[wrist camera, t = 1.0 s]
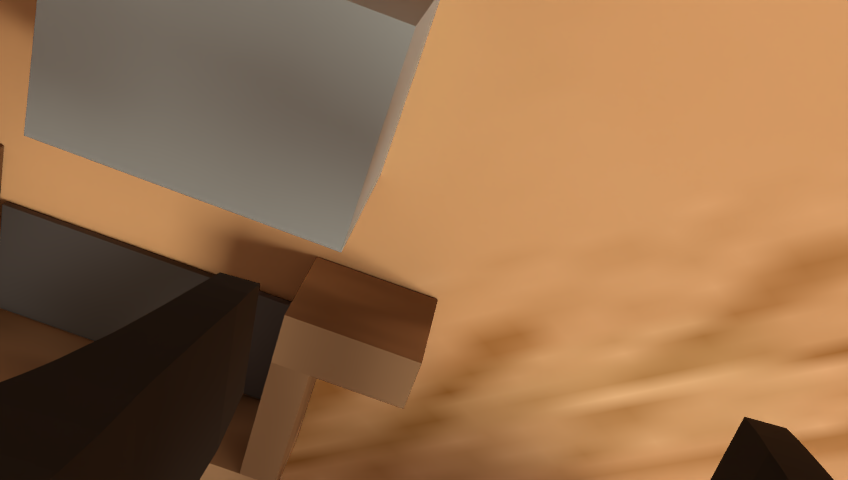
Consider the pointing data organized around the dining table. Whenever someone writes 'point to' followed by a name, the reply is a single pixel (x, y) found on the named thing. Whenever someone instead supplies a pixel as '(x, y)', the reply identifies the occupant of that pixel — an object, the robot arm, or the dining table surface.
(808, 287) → the dining table surface
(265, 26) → the block
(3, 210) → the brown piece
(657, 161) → the dining table surface
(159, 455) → the robot arm
